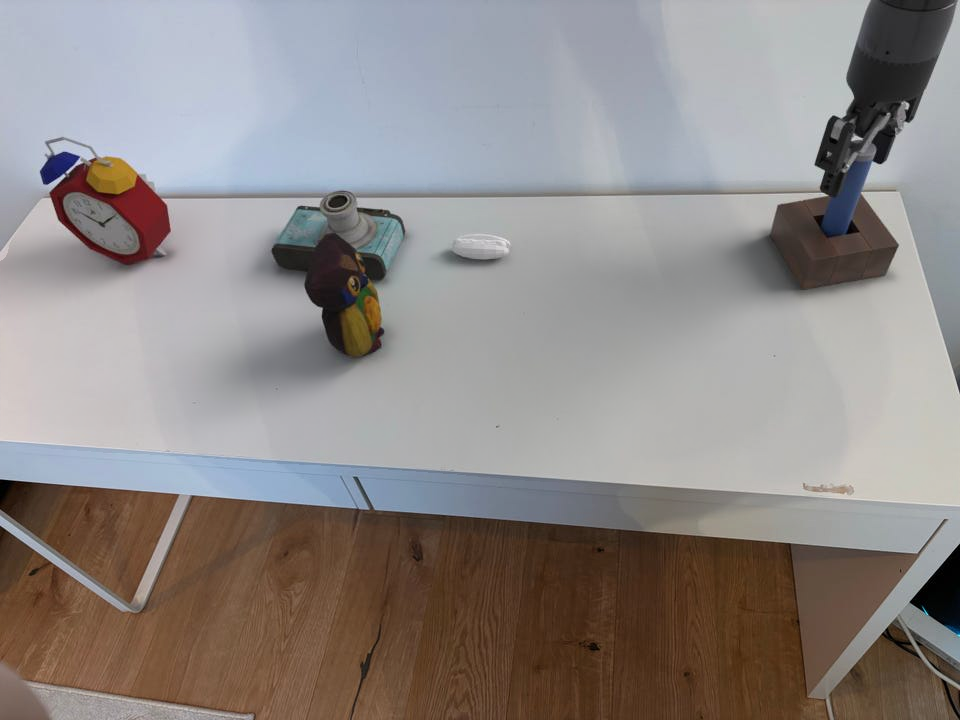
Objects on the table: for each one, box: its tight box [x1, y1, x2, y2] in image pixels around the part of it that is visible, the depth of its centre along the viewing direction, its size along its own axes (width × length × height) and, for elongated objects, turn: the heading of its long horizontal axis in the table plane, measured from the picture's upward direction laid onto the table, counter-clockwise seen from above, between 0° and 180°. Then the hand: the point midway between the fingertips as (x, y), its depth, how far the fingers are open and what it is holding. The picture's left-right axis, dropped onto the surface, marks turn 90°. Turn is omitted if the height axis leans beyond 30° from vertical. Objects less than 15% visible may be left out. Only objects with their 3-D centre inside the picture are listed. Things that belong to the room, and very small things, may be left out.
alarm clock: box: [39, 136, 172, 265], centre depth 102 cm, size 15×9×20 cm, turn 72°
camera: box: [270, 190, 406, 280], centre depth 100 cm, size 16×10×10 cm
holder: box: [769, 193, 900, 290], centre depth 90 cm, size 10×10×5 cm
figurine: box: [303, 232, 385, 358], centre depth 86 cm, size 10×7×15 cm
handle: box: [820, 139, 876, 238], centre depth 86 cm, size 3×3×16 cm
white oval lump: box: [451, 233, 512, 261], centre depth 99 cm, size 3×8×3 cm, turn 79°
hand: (852, 176), depth 83 cm, fingers open, 8 cm apart
